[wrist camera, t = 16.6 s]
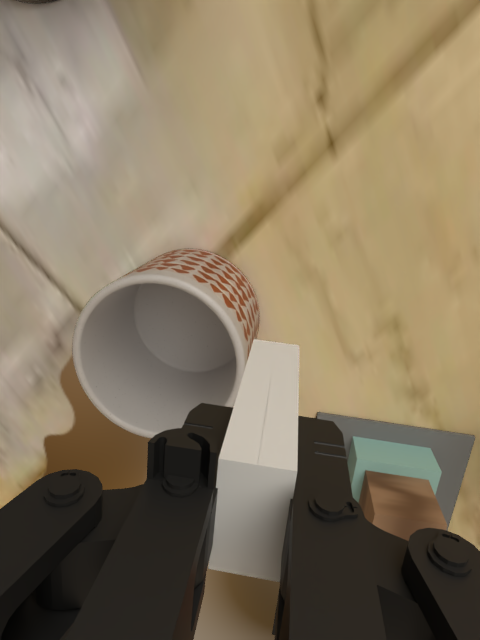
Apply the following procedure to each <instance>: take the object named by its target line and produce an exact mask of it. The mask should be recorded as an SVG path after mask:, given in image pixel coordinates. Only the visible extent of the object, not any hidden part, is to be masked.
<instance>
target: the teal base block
mask: <svg viewBox="0 0 480 640" xmlns="http://www.w3.org/2000/svg"><path fill="white" fill-rule="evenodd" d="M347 464H348V470H349V476H350V483H351V489H352V495H353V498H354V499H355V500H356V501H357V502H358V503H359V499H360V494H361V489H362V484H363V480H364V475H365V470H368V471H375V472H381V473H387V474H394V475H400V476H407V477H413V478H420V479H426V480H429V482H430V485H431V487H432V489H433V492H434V494H436V491H437V487H438V484H439V480H440V477H441V473H442V471H441V469H440V467H439V465H438V463H437V461H436V459H435V457H434V455H433V452H432V450H431V448H426V447H420V446H413V445H407V444H400V443H394V442H387V441H381V440H374V439H368V438H361V437H355V436H353V438H352V443H351V448H350V453H349V457H348V462H347Z"/></svg>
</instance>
